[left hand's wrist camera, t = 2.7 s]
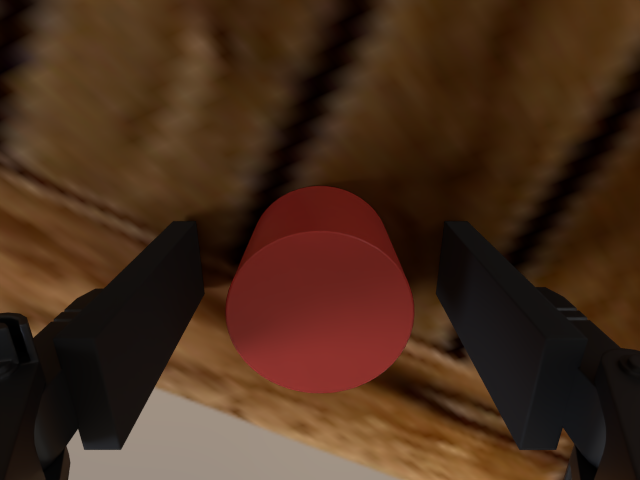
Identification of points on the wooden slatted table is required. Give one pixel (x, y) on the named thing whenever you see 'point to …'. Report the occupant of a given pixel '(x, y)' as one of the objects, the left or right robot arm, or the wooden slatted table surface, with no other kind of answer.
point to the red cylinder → (319, 294)
